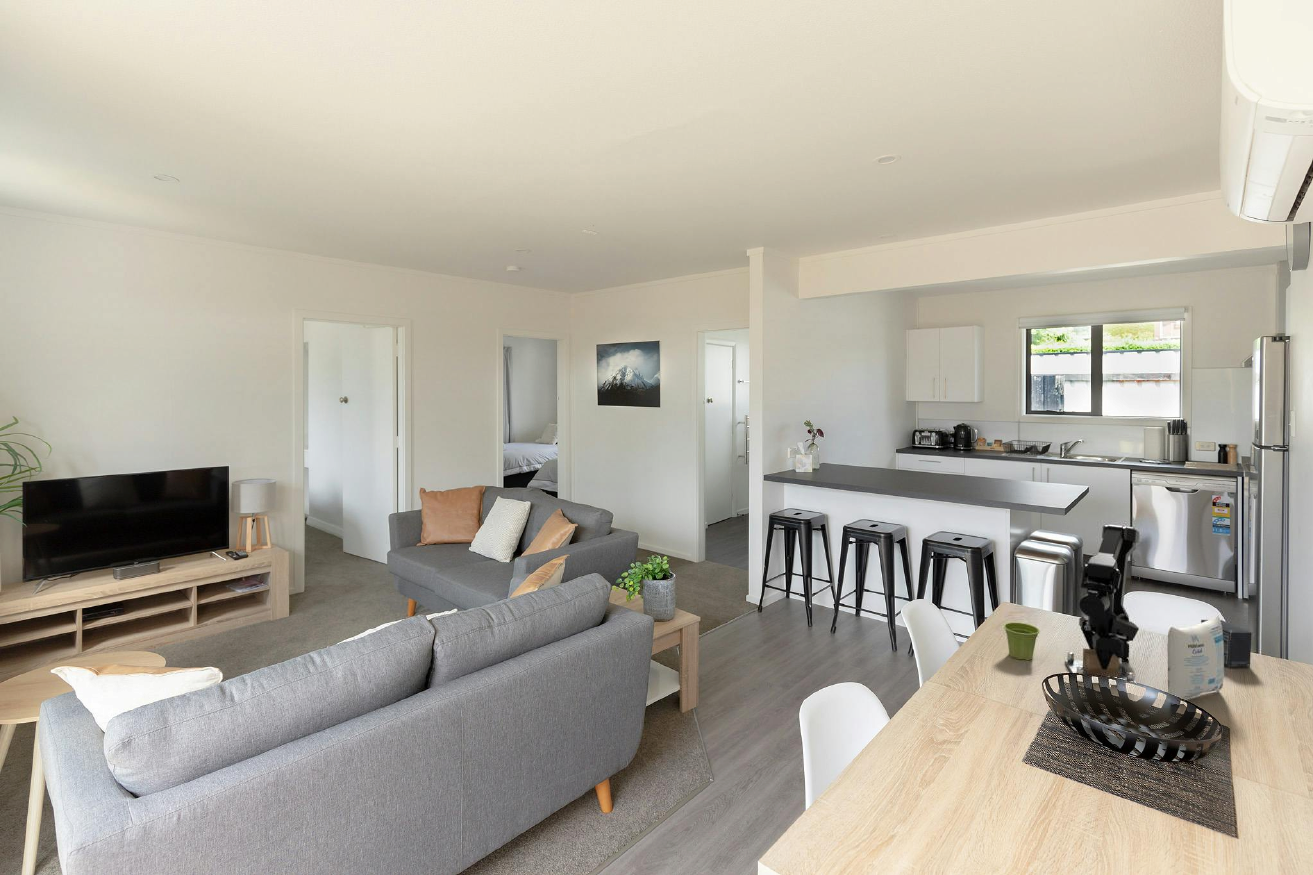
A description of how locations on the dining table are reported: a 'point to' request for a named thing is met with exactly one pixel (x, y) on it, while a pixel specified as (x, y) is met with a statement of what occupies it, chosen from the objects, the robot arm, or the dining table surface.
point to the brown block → (1094, 666)
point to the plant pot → (1021, 639)
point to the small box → (1236, 645)
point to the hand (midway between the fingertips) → (1099, 662)
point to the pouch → (1195, 659)
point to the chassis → (1078, 667)
